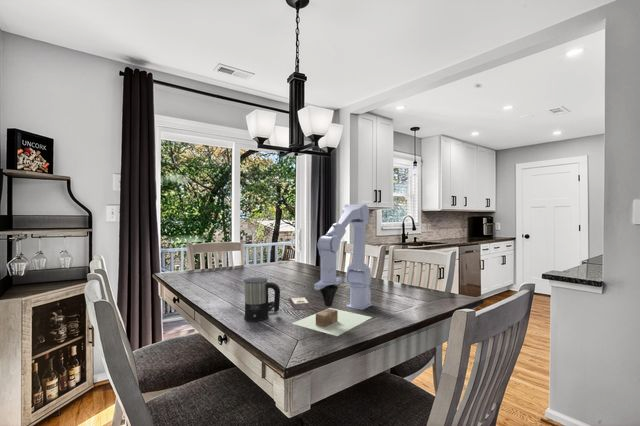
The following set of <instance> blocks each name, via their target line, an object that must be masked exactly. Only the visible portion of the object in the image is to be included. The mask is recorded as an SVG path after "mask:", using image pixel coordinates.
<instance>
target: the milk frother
mask: <svg viewBox="0 0 640 426" xmlns="http://www.w3.org/2000/svg"><path fill="white" fill-rule="evenodd" d="M243 282H244V317H243V319H244V320H245V321H247V322H261V321H265V320H267V319H268V318H269V312H270V311H271V310H273V311H274V312H278V311H279V310H280V302H281V301H280V299H281V289H280V286H279V285H278V284H277V283H275V282H272V281H271V282H269V279H268V277H260V276H257V277H248V278H245V279H243ZM269 289H271V290H273V291H274V300H273V301H269Z"/></svg>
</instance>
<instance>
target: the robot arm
mask: <svg viewBox="0 0 640 426" xmlns="http://www.w3.org/2000/svg"><path fill="white" fill-rule="evenodd" d="M369 223H370V209H369V207H368V205H367V204H366V203H363V204H348V203H347V204H344V206H343V207H342V214H341V216H340V218H339V220H338V222H335V223H333V224H331V227H330V228H328V229H329V230H328V231H327V232H326V234H325V235H321V236H320V237H319V238H318V241H317V244H316V245H317V250H318V255H319V256H320V280H319V281H317V282H316V283H314V284H313V286H314V287H313V289H314V290H316V291H320V293H321V295H322V299H323V302H324V305H325V307H327V308H331V307H332V306H333V301H334V300H335V299H334V298H335V295H336V293H337V291H338V290H339V289H338V288H339V286H338V285H339V284H342V283H343V282H342V280H343V279H342V277H338V276H337V252H338V251H339V249H340V245H341V240H342V239H343V237H344V236H345V234H346V231H347V230H346V228H347V227H348V225H349V224H350V225H353V244H352V246H353V248H352V249H353V250H352V251H353V252H352V263H351V264H349V265H347V270H346V274H345V281H346V283H347V284H348V286H349V288H350V289H349V304H346V305H345V306H346V307H347V308H350V309H351V308H353V309H356V310H361V311H362V310H365V309H367V308H369V307H371V306H373V303H372V302H371V300H372V299H371V298H372V297H371V296H372V295H371V294H372V293H371V288H370V284H371V283H372V273H371V267H370V266H369V265H368V264H366V263H365V258H366V257H365V256H366V232H367V230H366V229H367V227H366V226H367V225H369Z"/></svg>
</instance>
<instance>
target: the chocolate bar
mask: <svg viewBox="0 0 640 426" xmlns="http://www.w3.org/2000/svg"><path fill="white" fill-rule="evenodd" d="M288 301H289V303H290V306H291V307H292V308H293V310H294V311H302V310H303V311H304V310H312V309H313V310H316V309H317V307H316V306H315V305H314V303H313V302H312V301H311V300H310V299H309V297H307V296H306V297H305V296H304V297H291V298H290V297H289V298H288Z"/></svg>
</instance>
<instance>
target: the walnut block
mask: <svg viewBox="0 0 640 426" xmlns="http://www.w3.org/2000/svg"><path fill="white" fill-rule="evenodd" d="M333 309H334V308H333ZM333 309H328V308H326V309H325V310H324V311H323V310H321V311H319V313H318V312H316V313H317V314H316V313H315V314H316V325H318V326H321V327H327V326H329V325H331V324H333V323H335V322H337V321H338V310H339V309H337V310H333Z"/></svg>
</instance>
